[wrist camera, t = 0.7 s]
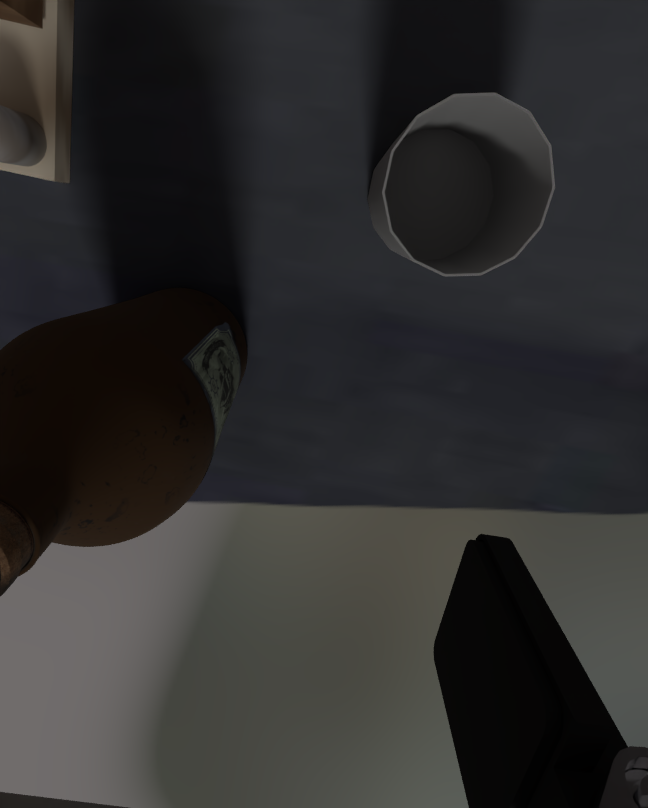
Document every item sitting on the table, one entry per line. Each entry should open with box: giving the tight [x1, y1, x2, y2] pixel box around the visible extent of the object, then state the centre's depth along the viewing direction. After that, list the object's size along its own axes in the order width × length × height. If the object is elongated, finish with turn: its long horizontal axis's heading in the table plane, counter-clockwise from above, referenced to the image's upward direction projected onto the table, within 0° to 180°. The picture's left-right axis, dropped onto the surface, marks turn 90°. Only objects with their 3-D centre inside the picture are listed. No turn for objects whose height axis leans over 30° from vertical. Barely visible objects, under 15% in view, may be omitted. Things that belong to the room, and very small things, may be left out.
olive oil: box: [0, 288, 247, 596], centre depth 26 cm, size 11×11×25 cm
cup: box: [367, 92, 555, 276], centre depth 29 cm, size 8×8×10 cm
